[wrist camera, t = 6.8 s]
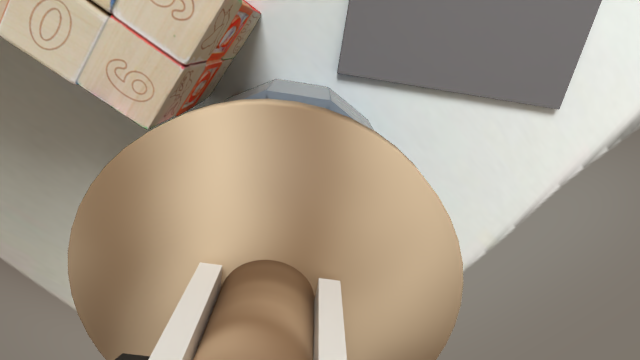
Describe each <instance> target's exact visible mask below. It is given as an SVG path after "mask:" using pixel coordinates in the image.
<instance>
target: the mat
mask: <svg viewBox="0 0 640 360" xmlns="http://www.w3.org/2000/svg"><path fill="white" fill-rule="evenodd" d="M601 1H602V0H349V6H348V12H347V18H346V24H345V30H344V36H343V41H342V47H341V53H340V59H339V65H338V71H337V73H340V74H346V75H352V76H359V77H365V78H371V79H377V80H383V81H389V82H395V83H401V84H407V85H414V86H420V87H426V88H432V89H438V90H444V91H450V92H456V93H462V94H469V95H475V96H481V97H487V98H493V99H499V100H505V101H511V102H518V103H524V104H530V105H536V106H542V107H548V108H554V109H560V106H561V104H562V101H563V98H564V96H565V93H566V91H567V88H568V86H569V83H570V81H571V78H572V75H573V73H574V70H575V68H576V65H577V63H578V60H579V57H580V55H581V52H582V50H583V47H584V45H585V42H586V40H587V37H588V34H589V32H590V29H591V27H592V24H593V22H594V19H595V16H596V14H597V11H598V9H599V6H600V4H601Z"/></svg>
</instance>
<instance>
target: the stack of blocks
mask: <svg viewBox="0 0 640 360" xmlns="http://www.w3.org/2000/svg"><path fill="white" fill-rule="evenodd" d="M260 16H261V13H260V12H259V11H258V10H256V9H255V8H254V7H252V6H251V5H250V4H249V3H247V2H246V1H245V0H0V36H1V37H2V38H4V39H5V40H7V41H8V42H10V43H11V44H13V45H14V46H16V47H17V48H19V49H20V50H22V51H23V52H25V53H26V54H28V55H29V56H31V57H32V58H34V59H35V60H37V61H39V62H40V63H42V64H43V65H45V66H46V67H48V68H49V69H51V70H52V71H54V72H55V73H57V74H58V75H60V76H61V77H63V78H64V79H66V80H68V81H69V82H71V83H72V84H75V85H80V86H81V87H83V88H84V89H86V90H87V91H88V92H90V93H91V94H93V95H94V96H96V97H97V98H99V99H100V100H102V101H103V102H105V103H107V104H108V105H110V106H111V107H113V108H114V109H115V110H117V111H118V112H120V113H122V114H123V115H125V116H126V117H128V118H129V119H131V120H132V121H134V122H135V123H137V124H138V125H140V126H141V127H143V128H145V129H147V130H148V129H150V128H152V127H154V126H156V125H158V124H160V123H162V122H164V121H166V120H168V119H170V118H171V117H173V116H175V117H176V116H178V115H180V114H182V113H184V112H185V111H187V110H189V109H191V108H192V107H194V106H195V105H197V104H198V103H200V102H202V101H203V100H205V99H207V98H208V97H209V96H210V95H211V93H212V91H213V90H214V88H215V87H216V85H217V84H218V82H219V80H220V79H221V77H222V76H223V74H224V73H225V71H226V70H227V68H228V66H229V65H230V63H231V62H232V60H233V58H234V57H235V56H236V55H237V53H238V52H239V50H240V49H241V47H242V46H243V44H244V43H245V41H246V39H247V38H248V36H249V35H250V33H251V32H252V30H253V28H254V27H255V25H256V23H257V21H258V20H259V18H260Z"/></svg>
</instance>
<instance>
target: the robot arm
mask: <svg viewBox="0 0 640 360" xmlns="http://www.w3.org/2000/svg"><path fill="white" fill-rule="evenodd" d="M221 277H222V265H217V264H209V263H202V262H200V263H199V265H198V267H197V269H196V271H195V273H194V275H193V277H192V279H191V280H190V282H189V284H188V286H187V288H186V290H185V292H184V294H183V295H182V297H181V299H180V301H179V303H178V305H177V307H176V309H175V311H174V312H173V314H172V316H171V318H170V320H169V322H168V324H167V326H166V328H165V329H164V331H163V333H162V335H161V337H160V339H159V341H158V343H157V344H156V346H155V348H154V350H153V352H152V354H151V356H143V355H134V354H125V353H122V354H121V355H120V356H118V357H117V358H116V359H115V360H193V358H194V356H195V353H196V351H197V348H198V346H199V343H200V341H201V338H202V335H203V333H204V330H205V328H206V325H207V323H208V320H209V318H210V315H211V313H212V310H213V307H214V305H215V302H216V300H217V297H218V295H219V292H220V290H221ZM313 360H347V354H346V342H345V331H344V319H343V307H342V295H341V283H340V281H338V280H331V279H323V278H319V280H318V285H317V290H316V296H315V301H314V346H313Z"/></svg>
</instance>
